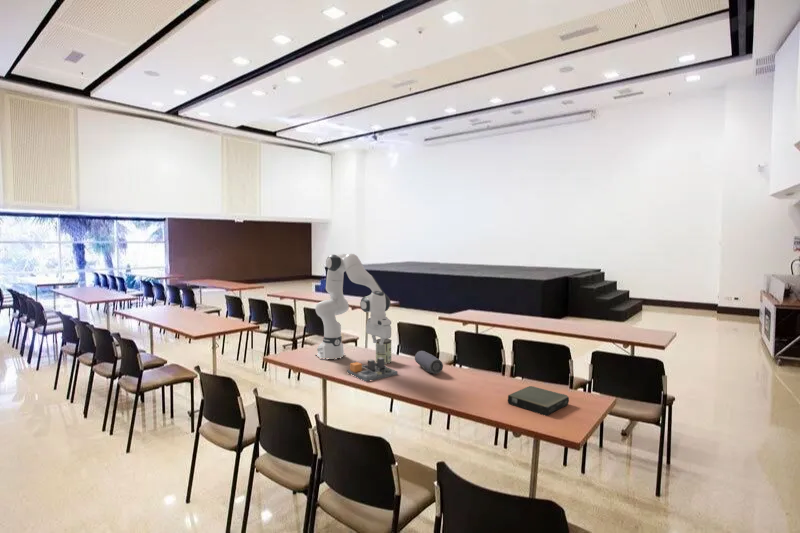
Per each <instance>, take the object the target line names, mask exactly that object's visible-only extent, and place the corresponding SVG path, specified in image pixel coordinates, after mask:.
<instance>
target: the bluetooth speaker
mask: <svg viewBox="0 0 800 533" xmlns="http://www.w3.org/2000/svg"><path fill="white" fill-rule="evenodd" d="M414 360H415V362H416V363H417V364H418V365H419V366H420V367H422V368H423V370H424V371H426V372H428V373H430V374H434V375H435V374H439V373H441V372H442V371H443V367H444V364H443V361H441V360H440V359H439V358H437V357H436V356H435V355H433V354H431V353H429V352H426V351H425V350H418V351H417V352H416V353H415V355H414Z"/></svg>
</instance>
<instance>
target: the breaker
mask: <svg viewBox="0 0 800 533" xmlns="http://www.w3.org/2000/svg"><path fill="white" fill-rule="evenodd" d="M384 365H385V364H384V358H382V357H380V358H378V359H377V367H380V369H381V368H384Z"/></svg>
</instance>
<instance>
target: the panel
mask: <svg viewBox="0 0 800 533" xmlns="http://www.w3.org/2000/svg"><path fill="white" fill-rule="evenodd" d="M347 372H348V373H350V374H352V375H354V376H356V377H358V378H360V379H359V380H361V379H362V380H361V381H363V380H364V381H363V382H365V381H369V382H371V381H370V380H373V381H377V380H381V379H385V378H388V377H393V376H397V375H398V370H395V369H392V368H389V367H387V365H386V364H384V368H381V369H380V367H377V363H376V362H375V370H372V371H371V370H370V369H368V364H364V365H362V371H358V372H353V371H351V370H350V369H347V370H346V373H347ZM354 376H353V377H354ZM356 377H355V378H356ZM358 378H357V379H358ZM380 378H381V379H380ZM376 379H377V380H376Z"/></svg>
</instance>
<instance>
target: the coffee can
mask: <svg viewBox="0 0 800 533" xmlns="http://www.w3.org/2000/svg"><path fill="white" fill-rule="evenodd" d="M376 340H377V343H375V363H376V362H377V359H378V358H380V357H382V358H384V365H387V363H388V364H390V362H391V363H392V339H391V338H389V339H385V340H384V342H383V345H380V344H379V342H380V341H381V339H380V338H378V339H377V338H376Z"/></svg>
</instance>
